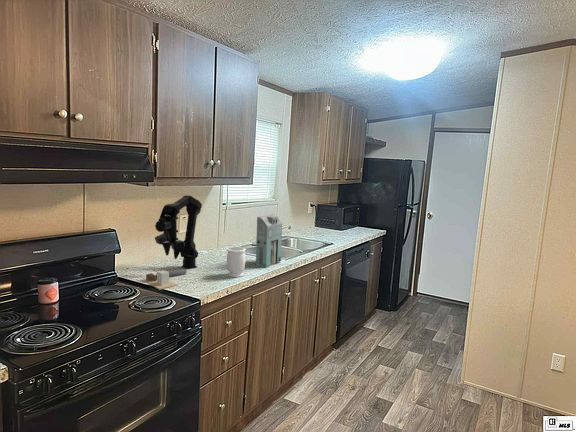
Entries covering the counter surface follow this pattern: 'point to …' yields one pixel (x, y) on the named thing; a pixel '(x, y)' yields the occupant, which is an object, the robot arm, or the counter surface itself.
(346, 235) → the counter surface
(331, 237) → the counter surface
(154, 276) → the block
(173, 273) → the grey rounded rod
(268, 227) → the device
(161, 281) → the white rectangular block
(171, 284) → the mat
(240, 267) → the jar
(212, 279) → the counter surface
